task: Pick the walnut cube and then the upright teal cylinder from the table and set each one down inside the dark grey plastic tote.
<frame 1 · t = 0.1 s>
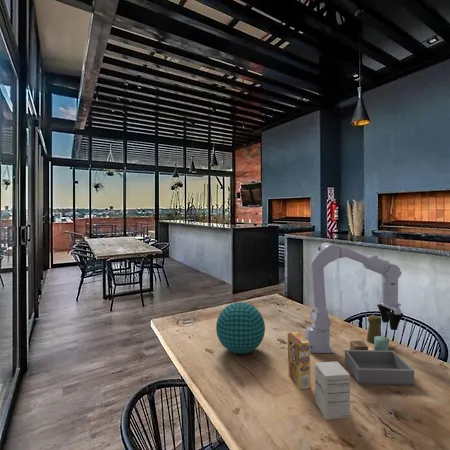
hand: (389, 325, 119), 10 cm above the table, tool pointing down, fingers open, 7 cm apart
walnut cube: (358, 356, 116), on the table
cork: (374, 341, 128), on the table
supplement box: (332, 411, 85), on the table
decorative ball: (240, 351, 122), on the table
tote: (376, 373, 103), on the table
teal cylinder: (381, 356, 115), on the table
candy box: (298, 382, 99), on the table
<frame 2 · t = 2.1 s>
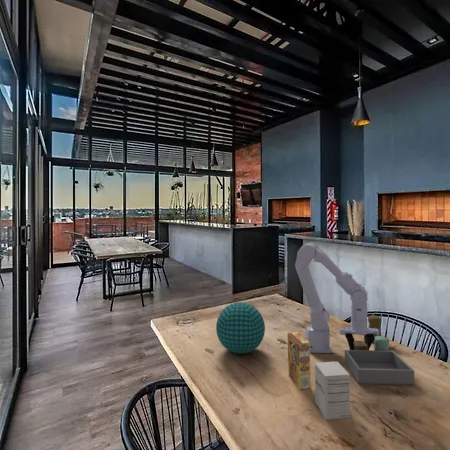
hand: (359, 352, 116), 1 cm above the table, tool pointing down, fingers closed on walnut cube, 5 cm apart
walnut cube: (359, 355, 116), on the table, touching gripper
everything else where it was.
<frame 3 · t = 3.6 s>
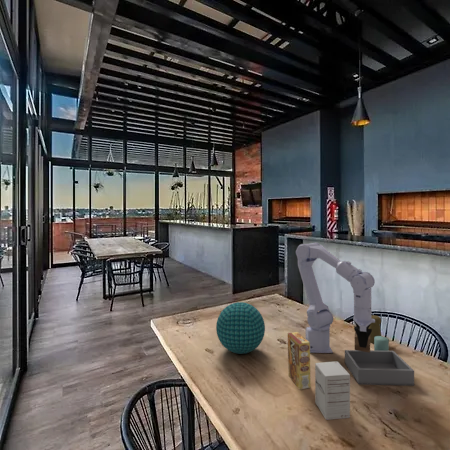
hand: (362, 343, 106), 9 cm above the table, tool pointing down, fingers closed on walnut cube, 5 cm apart
walnut cube: (362, 348, 107), point 7 cm above the table, touching gripper
everything else where it was.
when the fingers open (4 cm above the table, at t = 5.2 s): walnut cube drops 2 cm, resting on tote.
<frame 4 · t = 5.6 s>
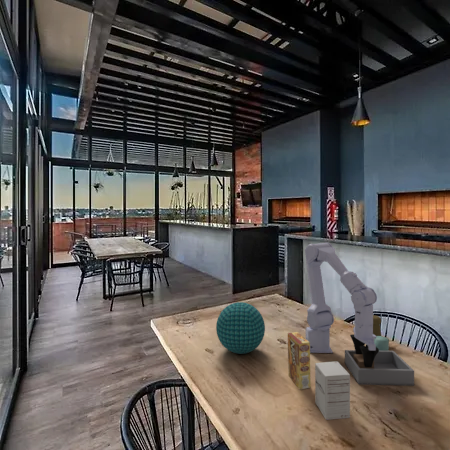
hand: (363, 361, 103), 4 cm above the table, tool pointing down, fingers open, 7 cm apart
walnut cube: (363, 371, 103), point 1 cm above the table, touching tote
everything else where it was.
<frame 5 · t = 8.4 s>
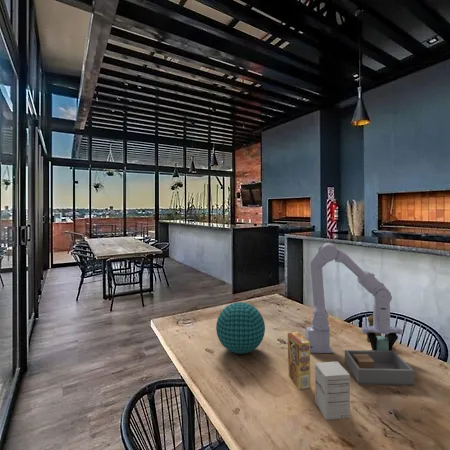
hand: (381, 351, 115), 2 cm above the table, tool pointing down, fingers closed on teal cylinder, 5 cm apart
teal cylinder: (381, 356, 115), on the table, touching gripper
everything else where it was.
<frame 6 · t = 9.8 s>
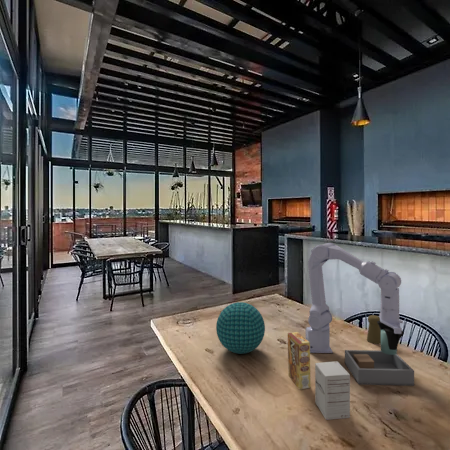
hand: (389, 345, 103), 9 cm above the table, tool pointing down, fingers closed on teal cylinder, 5 cm apart
teal cylinder: (388, 351, 104), point 7 cm above the table, touching gripper
everything else where it was.
when the fingers open (4 cm above the table, at t = 11.5 s): teal cylinder drops 1 cm, resting on tote.
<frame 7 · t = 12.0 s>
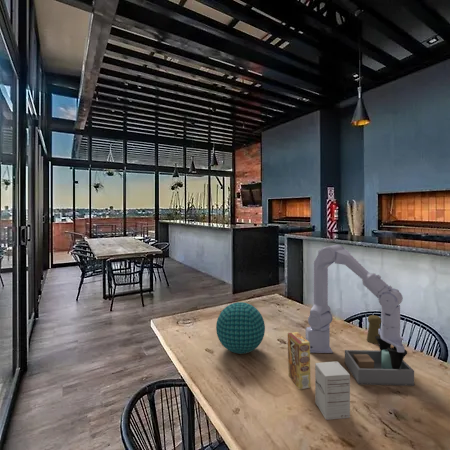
hand: (390, 362, 103), 4 cm above the table, tool pointing down, fingers open, 7 cm apart
teal cylinder: (389, 372, 103), point 1 cm above the table, touching tote
everything else where it was.
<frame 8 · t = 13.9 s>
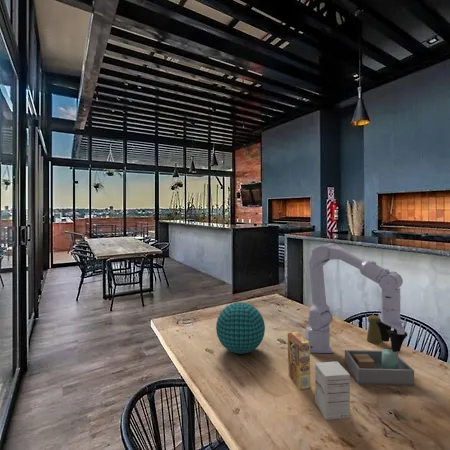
hand: (390, 346, 102), 10 cm above the table, tool pointing down, fingers open, 7 cm apart
nothing on the table moved.
at the end: walnut cube inside the target area on the tote (4.6 cm from its centre), point 0.6 cm above the tote's base; teal cylinder inside the target area on the tote (4.2 cm from its centre), point 0.6 cm above the tote's base; the gripper is holding nothing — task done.
